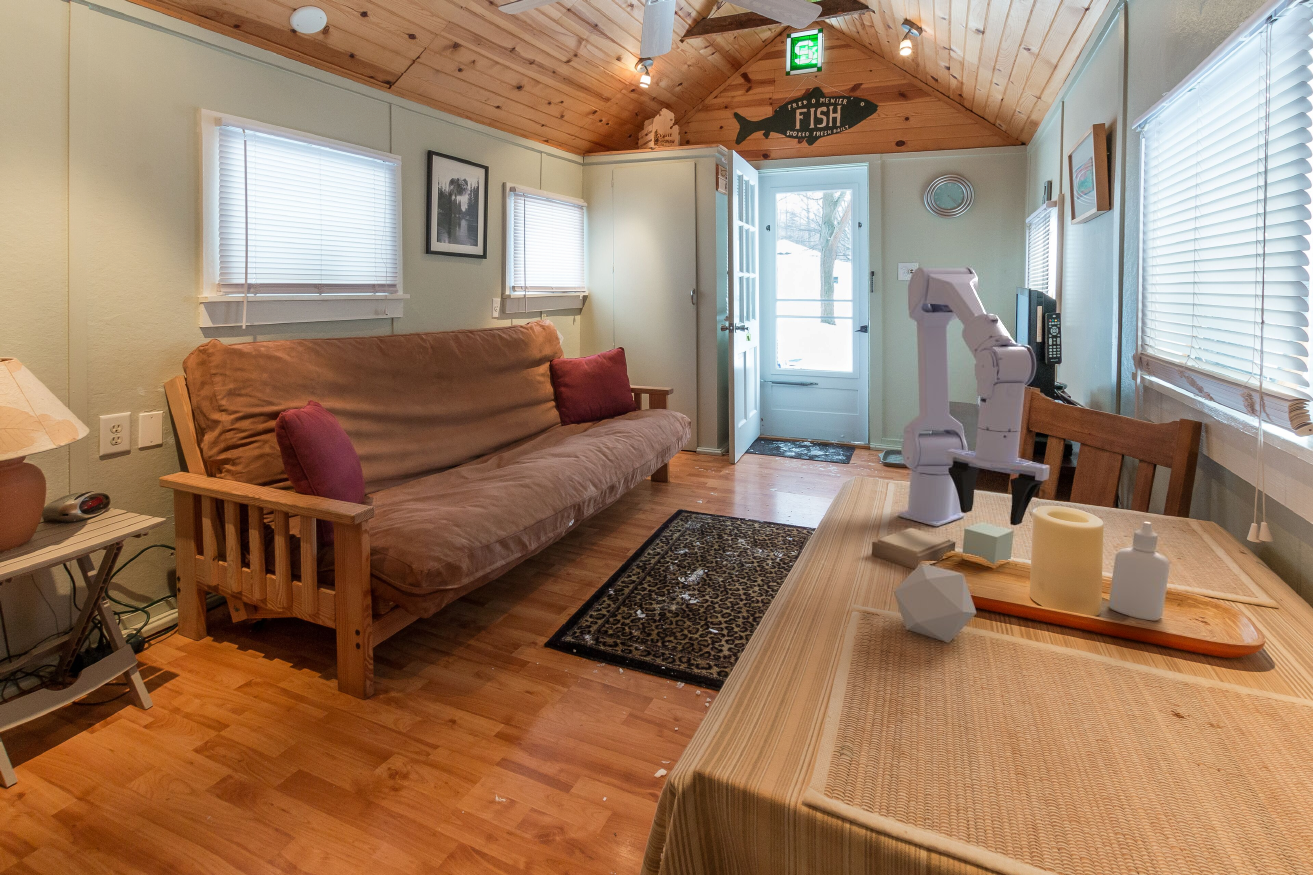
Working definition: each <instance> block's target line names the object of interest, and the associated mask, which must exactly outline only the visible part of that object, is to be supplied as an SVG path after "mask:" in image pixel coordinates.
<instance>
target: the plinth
mask: <svg viewBox="0 0 1313 875" xmlns="http://www.w3.org/2000/svg"><path fill="white" fill-rule="evenodd" d="M951 551H955V552H956V541H954V540H951V538H949V537H948V538H947V537H944V536H940V535H937V534H933V533H930V532H926V531H923V530H920V529H916V528H912V527H909V528H907V529H904V530H901V531H899V532H895V533H892V534H890V535H886V536H884V537H881V538H878V539H875V540H873V541H872V542H871V556H873V557H877V558H879V559H883V560H886V561H888V562H892V563H894V564H898V565H900V566H904V567H907V568H909V569H912V570H915V569H916V568H917V567H918V565H919V563H920V562H921V561H939V560H940V559H942V558H943V556H944V554H946V553H947V552H951Z"/></svg>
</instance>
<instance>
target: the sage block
mask: <svg viewBox="0 0 1313 875" xmlns="http://www.w3.org/2000/svg"><path fill="white" fill-rule="evenodd" d="M963 531H964V532H963V544H962V551H961V553H965V554H971V555H975V556H979V557H982V558H984V559H986V560H987V561H989V562H990V563H992V564H995V563H996V562H998V561H999V560H1008V559H1012V551H1013V540H1014V530H1013V529H1010V528H1006V527H1002V526H999V525H994V524H991V523H986V522H983V521H981V522H978V523H976V524H973V525H971V526H967V527H965V528H964V530H963Z"/></svg>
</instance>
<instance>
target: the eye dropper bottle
mask: <svg viewBox="0 0 1313 875" xmlns="http://www.w3.org/2000/svg"><path fill="white" fill-rule="evenodd" d="M1158 536H1159V535H1158V534H1157V533H1156V532H1155V531H1153V529H1152V522H1149V521H1144V522H1143V524H1142V527H1141V529H1138V530H1135V531H1134V532H1133V539H1132V547H1124V548H1121V549H1119V550H1118V551H1117V553H1116V554H1115V558H1114V564H1113V569H1112V570H1113V571H1112V577H1111V584H1110V585H1111V586H1110V591H1109V600H1108V607H1109V609H1111V610H1112V611H1115V612H1117V613H1120V614H1123V615H1125V616H1129V617H1132V618H1136V619H1141V620H1147V621H1156V622H1157V621H1159V620H1160V619H1161V617H1163V613H1164V607H1165V600H1166V594H1167V588H1168V581H1169V580H1168V579H1169V573H1170V564H1171V563H1170V561H1169V559H1168V558H1167V557H1165V556H1164V555H1163V554H1161V553H1158V552H1156V550H1157V545H1158V544H1157V543H1158Z"/></svg>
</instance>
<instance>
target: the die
mask: <svg viewBox="0 0 1313 875" xmlns="http://www.w3.org/2000/svg"><path fill="white" fill-rule="evenodd" d="M964 574H965V573H962V572H958V571H953V570H951V569H946V568H942V567H939V566H934V565H927V564H923V563H921V564H920V565H919V566H918V567H917V568H916V569H913V570H912V572H911V573H910V574H909V575H908V576H907V577H906V578H905V579H904V580H903V581H902V582H901V583H900V584H899V585H898V586H897V587H896V588H895V589H894V590H893V591H892V592H893V594H894V598H895V600H896V603H897V605H898V608H899V611H900V614H901V618H902V621H903V623H904V626H905V630H908V631H911V632H913V633H916V634H920V635H923V636H926V637H928V638H932V639H934V640H938V641H941V642H944V643H947V644H949V643H950V642H951V641H952V640H953V639H954V638H955V637H956V636H957V634H959V632H961V631H962V629H963V628H964V627H965V626H966V625H967V624H968V623H969V622H970V621H971V619H973V618H974V616H975V615H977V610H976V607H975V604H974V601H973V598H972V595H971V592H970V589H969V586H968V583H967V581H966V577H965V575H964Z"/></svg>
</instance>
